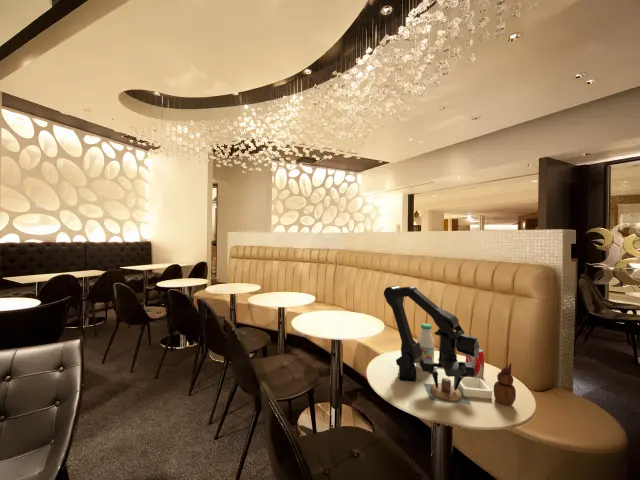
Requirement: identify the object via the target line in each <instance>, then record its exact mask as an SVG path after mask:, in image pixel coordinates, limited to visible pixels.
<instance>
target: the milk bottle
mask: <svg viewBox="0 0 640 480" xmlns="http://www.w3.org/2000/svg"><path fill="white" fill-rule="evenodd" d="M434 340H435V339H434V338H433V336H432V324H430V323H421V324H420V333H419V335H418V337H417V340H416V343H418V342H419V343H420V347H421V350H422V351H423V352H422V357H421V359H431V361H432V362H433V363H435V341H434ZM421 359H420V360H421ZM420 360H418V361H417V363H415V367H416V368H417V369H420V370H422V368H421V366H420Z"/></svg>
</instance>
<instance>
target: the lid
mask: <svg viewBox="0 0 640 480" xmlns="http://www.w3.org/2000/svg"><path fill="white" fill-rule="evenodd" d="M432 384H433V385H431V389H430V390H431V393H432V394H433V395H434V396H436V397H437V398H440V399H442V400H446V401H459V400H461V398H462V393H461V391H460V390H459V389H457V390H455V389H454V385H452V381H451V379H449V378H447V377H446V378H444V377H443V378H441V383H439V382H438V389H437V388H436V386H435V383H432Z"/></svg>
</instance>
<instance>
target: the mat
mask: <svg viewBox="0 0 640 480" xmlns="http://www.w3.org/2000/svg"><path fill="white" fill-rule="evenodd" d="M433 384H434V383H423V386H424V388H425V391H426V393H427V395H428V399H430V401H433V402H434V401H435V402H443V403H445V402H446V403H452V404H453V403H455V404H463V405H464V404H465V405H472V403H471V402H470V400H469V398H468V397H466V396H463V395H462V398H461V400H459V401H446V400H442V399H440V398H437V397H436V396H434V395H433V394H432V393H431V390H430V389H431V385H433ZM457 389H458V388H457Z"/></svg>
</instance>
